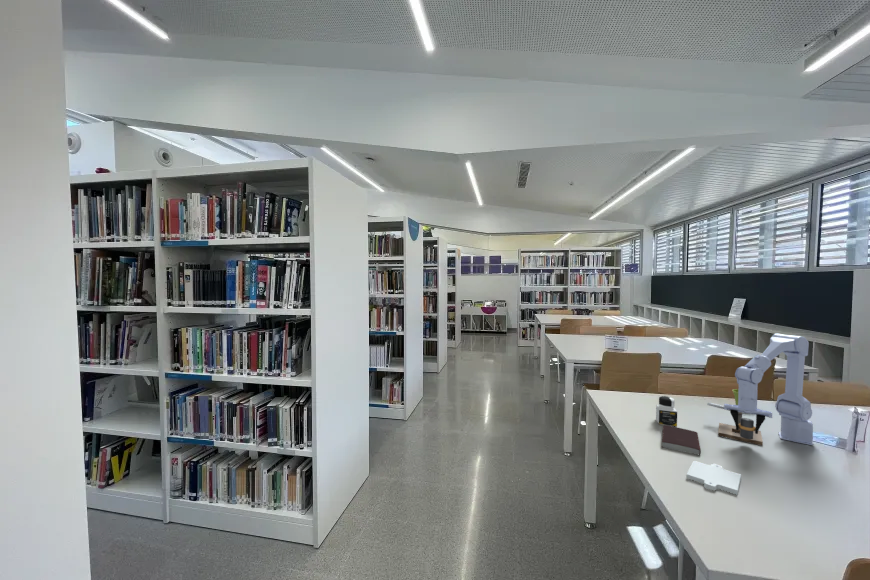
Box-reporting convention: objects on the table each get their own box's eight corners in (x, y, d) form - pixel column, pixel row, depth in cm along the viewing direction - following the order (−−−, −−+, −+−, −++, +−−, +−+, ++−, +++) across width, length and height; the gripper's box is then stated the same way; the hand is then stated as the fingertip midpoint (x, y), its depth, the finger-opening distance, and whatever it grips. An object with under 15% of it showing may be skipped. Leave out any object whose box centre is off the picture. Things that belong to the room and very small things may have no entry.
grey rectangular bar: (744, 413, 158) (744, 410, 158) (742, 414, 156) (742, 411, 156) (709, 404, 169) (709, 401, 169) (706, 405, 168) (707, 402, 168)
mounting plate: (694, 463, 130) (694, 458, 130) (741, 477, 121) (741, 471, 121) (684, 482, 117) (684, 477, 117) (736, 500, 108) (736, 493, 108)
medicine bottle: (658, 424, 164) (659, 398, 164) (655, 419, 171) (656, 394, 171) (677, 427, 162) (677, 400, 161) (673, 421, 168) (673, 396, 168)
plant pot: (727, 404, 193) (727, 388, 193) (746, 405, 192) (747, 389, 191) (739, 410, 184) (740, 393, 183) (760, 411, 182) (760, 394, 182)
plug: (754, 436, 144) (755, 419, 144) (755, 441, 140) (756, 423, 140) (737, 433, 148) (738, 416, 147) (738, 437, 143) (739, 420, 143)
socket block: (760, 434, 154) (761, 417, 154) (762, 445, 144) (763, 426, 144) (719, 425, 163) (719, 409, 163) (718, 435, 153) (718, 418, 153)
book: (697, 438, 151) (697, 431, 151) (700, 457, 135) (701, 448, 135) (662, 431, 158) (662, 424, 158) (661, 448, 142) (661, 440, 142)
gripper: (724, 395, 145) (723, 429, 145) (773, 403, 136) (772, 439, 136) (724, 391, 150) (723, 424, 151) (771, 399, 141) (770, 433, 141)
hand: (746, 431), depth 144 cm, fingers closed on plug, 5 cm apart
